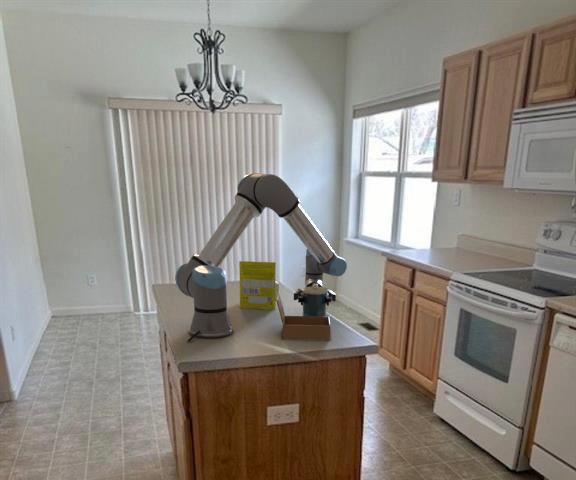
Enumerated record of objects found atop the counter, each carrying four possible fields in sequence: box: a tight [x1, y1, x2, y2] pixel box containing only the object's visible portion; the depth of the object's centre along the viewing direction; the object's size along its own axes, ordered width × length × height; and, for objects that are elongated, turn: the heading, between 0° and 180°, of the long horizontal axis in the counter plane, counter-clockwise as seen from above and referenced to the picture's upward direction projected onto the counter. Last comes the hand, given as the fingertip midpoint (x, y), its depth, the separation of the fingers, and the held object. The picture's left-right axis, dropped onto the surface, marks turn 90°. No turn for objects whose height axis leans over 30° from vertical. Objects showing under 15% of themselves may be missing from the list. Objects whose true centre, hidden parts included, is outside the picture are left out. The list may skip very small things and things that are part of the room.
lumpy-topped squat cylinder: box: [275, 280, 280, 301], centre depth 248 cm, size 10×13×9 cm
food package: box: [238, 260, 277, 310], centre depth 227 cm, size 15×1×20 cm, turn 84°
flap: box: [275, 292, 286, 324], centre depth 192 cm, size 8×13×1 cm
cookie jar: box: [302, 284, 329, 317], centre depth 205 cm, size 10×10×16 cm
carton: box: [282, 315, 331, 341], centre depth 194 cm, size 17×13×5 cm
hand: (315, 301), depth 200 cm, fingers closed on cookie jar, 9 cm apart
